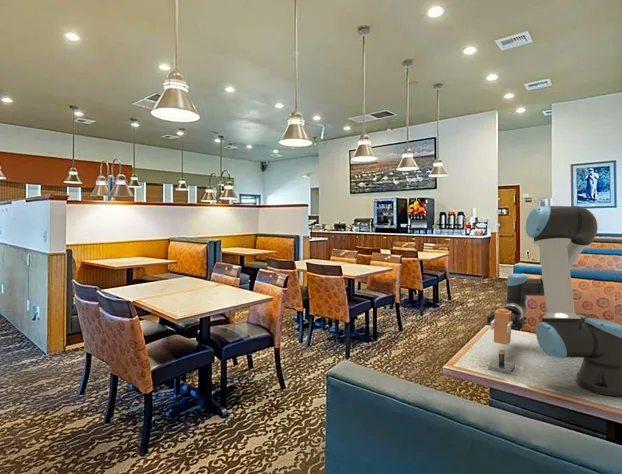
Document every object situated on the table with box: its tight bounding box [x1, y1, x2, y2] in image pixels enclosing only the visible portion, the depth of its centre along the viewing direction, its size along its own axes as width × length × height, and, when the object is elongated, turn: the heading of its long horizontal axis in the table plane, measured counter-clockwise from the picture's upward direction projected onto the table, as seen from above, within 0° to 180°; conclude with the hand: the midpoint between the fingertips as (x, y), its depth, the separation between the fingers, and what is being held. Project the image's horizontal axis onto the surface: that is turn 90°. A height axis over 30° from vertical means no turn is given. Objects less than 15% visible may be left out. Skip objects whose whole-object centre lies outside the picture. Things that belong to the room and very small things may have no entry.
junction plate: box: [487, 349, 516, 375], centre depth 148 cm, size 8×8×7 cm
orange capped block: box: [493, 307, 512, 346], centre depth 147 cm, size 5×5×13 cm
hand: (499, 327), depth 143 cm, fingers closed on orange capped block, 5 cm apart
